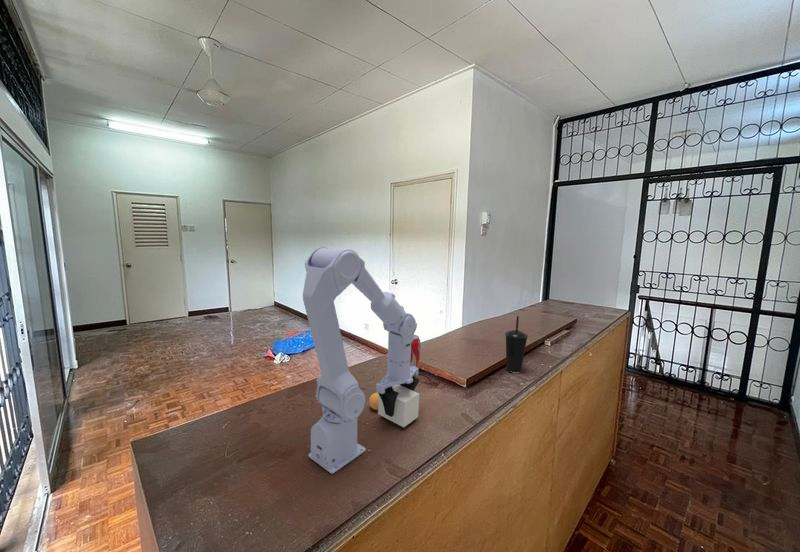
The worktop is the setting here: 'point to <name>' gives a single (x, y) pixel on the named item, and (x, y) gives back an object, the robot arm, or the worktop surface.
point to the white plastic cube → (402, 406)
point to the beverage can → (415, 351)
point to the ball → (374, 401)
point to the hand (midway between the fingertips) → (397, 409)
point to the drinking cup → (515, 348)
